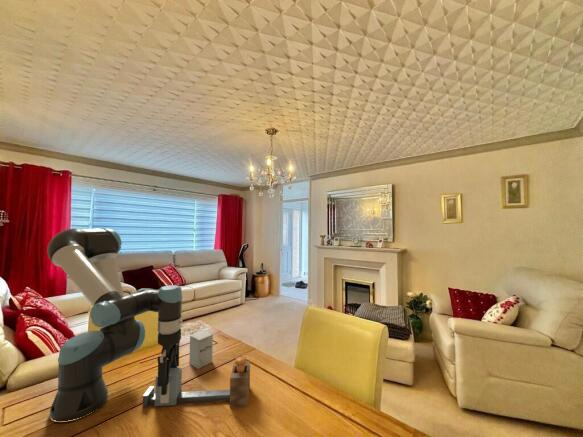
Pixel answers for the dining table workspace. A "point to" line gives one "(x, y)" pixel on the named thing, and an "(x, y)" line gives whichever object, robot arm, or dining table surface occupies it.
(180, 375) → the block
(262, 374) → the dining table surface
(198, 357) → the supplement box
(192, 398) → the rail
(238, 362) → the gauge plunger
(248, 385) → the end block
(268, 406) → the dining table surface
